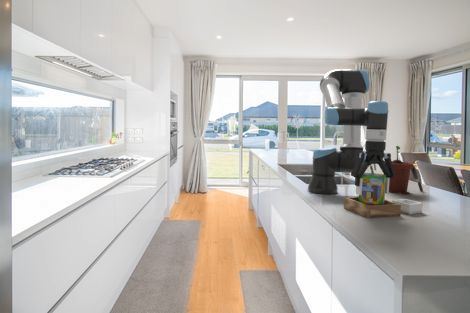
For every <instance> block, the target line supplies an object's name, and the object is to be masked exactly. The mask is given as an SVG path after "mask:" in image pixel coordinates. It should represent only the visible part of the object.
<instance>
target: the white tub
mask: <svg viewBox="0 0 470 313" xmlns="http://www.w3.org/2000/svg"><path fill="white" fill-rule="evenodd" d="M391 202H395V203H398V204H401V211H400V213H403V214H405V215H413V214H422V213H423V202H421V201H420V202H419V201H416V200H412V199H407V198H401V199H400V198H399V199H393V200H391Z"/></svg>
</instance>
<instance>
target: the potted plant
mask: <svg viewBox="0 0 470 313" xmlns="http://www.w3.org/2000/svg"><path fill="white" fill-rule="evenodd" d="M395 147H396V159H394V160H391V161H392V164H393V168H394V171H395V176H393V178H391V181H390V185H389V193H395V194H401V195H404V196H406V195H410V194H411V192H409V191H408V187H409V180H410V173H411V175H412V178H413V179H414V181H416V182H417V185H418V188H419V192H423V191H424V189H423V186H422V183H421V181H420V179H421V177H420V174H419V172H418V169H417V167H416V166H415V165H414V163H413V162H409V161H402V160H400V159H399V153H400V151H398V150H401V147H400V146H399V145H396V146H395ZM384 162H385V160H384ZM385 165H386V164H385Z"/></svg>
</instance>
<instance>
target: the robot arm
mask: <svg viewBox="0 0 470 313" xmlns="http://www.w3.org/2000/svg"><path fill="white" fill-rule="evenodd" d="M319 90H320V92H321V93H322V94H323V97H324V100H325V103H326V107H327V108H325V111H324V123H325V124H326V125H330V126H343V133H342V134H343V135H342V136H343V137H342V144H340V145H341V146H339V149H337V147H336V146H335V147H334V146H333V147H319V148H316V149H314V150H313V152H312V153H313V154H312V168H311V171H312V172H311V173H312V174H311V178H310V181H309V183H308V186H307V191H308V192H311V193H314V194H321V195H322V194H323V195H334V194H337V193H338V190H339V189H338V185H337V182H336V177H335V175H336V173H344V174H350V176H351V177H353V178H354V186H355V194H356V195H358V196H359V195H362V181H363V179H362V178H361V177H362V175H363V174H364V173H366V171H367V170H368V168H369V167H370V166H372V165H378V167H379V168H380V170H381V171H382V174H385V175H386V182H385V195H389V193H390V192H389V185H390V181H391V178H393V176H395V171H394V168H393V164H392V161H393V160H392V154H391V153H389V152H385V151H386V149H387V148H386V146H387V142H386V140H387V129H388V119H389V111H390V110H389V103H388V102H387V101H383V100H378V101H377V100H375V101H373V100H372V101H369V102H368V103H367V107H362V104H363V103H362V102H363V101H362V100H363V98H364V97H365V96H366V93H368V92H369V90H370V75H369V74H368V71H366V70H365V69H357V68H356V69H333V70H330V71H328V72H327V73H325V74H324V75H323V76H322V78H321V80H320V83H319ZM362 127H365V138H364V139H365V140H366V141H364V142H365V144H364V146H363V145H361V140H362V139H361V137H362V136H361V135H362V133H361V132H362V131H361V130H362ZM384 161H385V162H384ZM385 164H386V165H385Z"/></svg>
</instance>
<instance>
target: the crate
mask: <svg viewBox="0 0 470 313" xmlns="http://www.w3.org/2000/svg"><path fill="white" fill-rule="evenodd" d="M343 199H344V200H343V209H346V210H347V211H350V212H353V213H355V214H357V215H360V216H362V217H365V218H367V219H369V218H373V219H374V218H387V217H388V218H389V217H400V216H401V212H400V211H401V204H398V203H395V202H392V200H388V199H385V201H384V204H383V205H376V204H366V203H361V202H359V196H352V197H351V196H350V197H349V196H348V197H343Z"/></svg>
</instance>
